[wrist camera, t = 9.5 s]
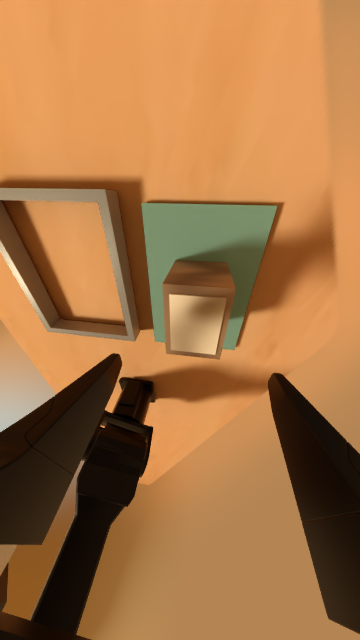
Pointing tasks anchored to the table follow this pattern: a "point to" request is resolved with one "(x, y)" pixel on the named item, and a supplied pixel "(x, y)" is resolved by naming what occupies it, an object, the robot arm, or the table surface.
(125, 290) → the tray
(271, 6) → the table surface
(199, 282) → the walnut block
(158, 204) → the mat
